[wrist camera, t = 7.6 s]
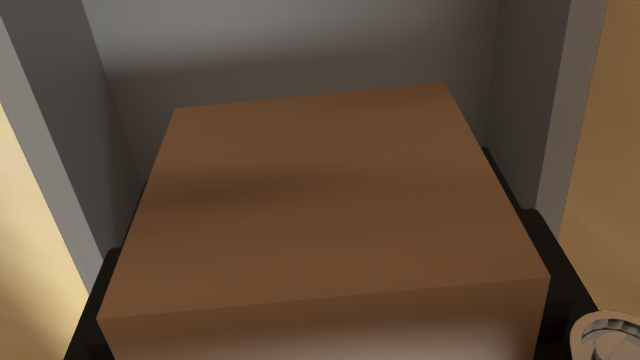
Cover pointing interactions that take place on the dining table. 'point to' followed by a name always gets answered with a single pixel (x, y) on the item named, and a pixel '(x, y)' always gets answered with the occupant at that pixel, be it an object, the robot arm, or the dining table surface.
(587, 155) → the dining table surface
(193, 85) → the tote
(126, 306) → the cube
